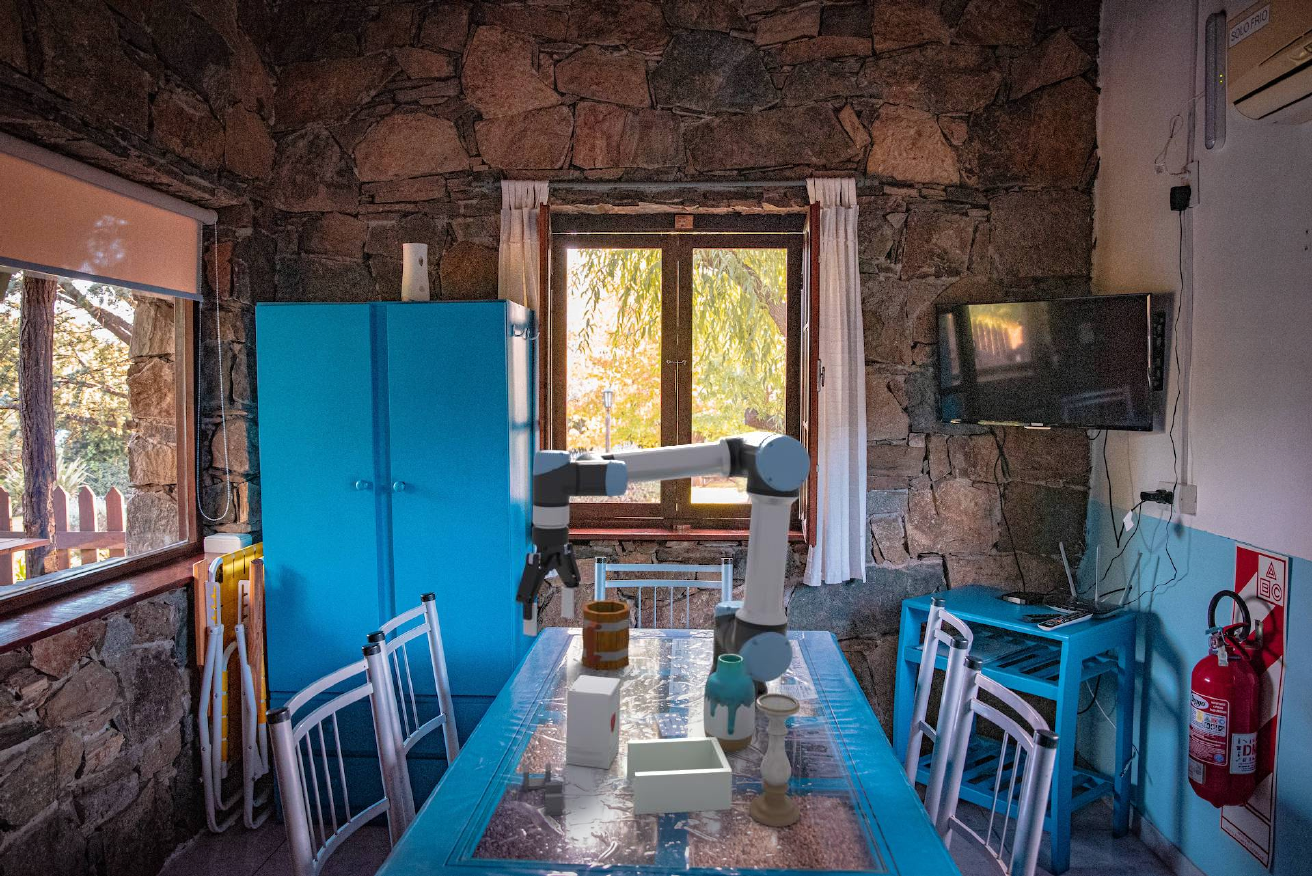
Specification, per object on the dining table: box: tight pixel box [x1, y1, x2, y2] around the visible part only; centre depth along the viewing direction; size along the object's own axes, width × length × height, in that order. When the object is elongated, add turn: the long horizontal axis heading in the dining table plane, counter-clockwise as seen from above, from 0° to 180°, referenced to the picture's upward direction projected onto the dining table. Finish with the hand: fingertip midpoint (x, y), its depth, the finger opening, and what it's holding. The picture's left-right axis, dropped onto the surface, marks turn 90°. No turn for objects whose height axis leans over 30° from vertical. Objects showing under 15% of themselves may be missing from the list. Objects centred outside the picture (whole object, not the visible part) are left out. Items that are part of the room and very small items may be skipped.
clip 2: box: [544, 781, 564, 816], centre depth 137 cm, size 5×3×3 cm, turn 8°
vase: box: [703, 654, 756, 754], centre depth 160 cm, size 11×11×19 cm
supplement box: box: [565, 674, 621, 770], centre depth 155 cm, size 9×9×15 cm
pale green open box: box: [626, 736, 733, 816], centre depth 143 cm, size 17×13×7 cm
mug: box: [581, 599, 631, 671], centre depth 205 cm, size 20×14×15 cm
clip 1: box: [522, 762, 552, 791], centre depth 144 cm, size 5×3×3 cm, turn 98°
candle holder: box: [748, 693, 801, 828], centre depth 136 cm, size 9×9×20 cm
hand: (549, 625), depth 162 cm, fingers open, 13 cm apart
